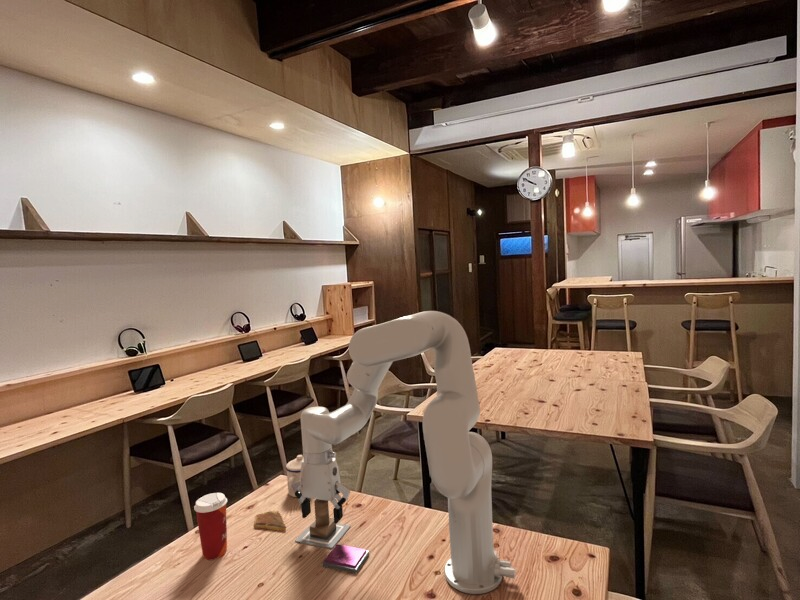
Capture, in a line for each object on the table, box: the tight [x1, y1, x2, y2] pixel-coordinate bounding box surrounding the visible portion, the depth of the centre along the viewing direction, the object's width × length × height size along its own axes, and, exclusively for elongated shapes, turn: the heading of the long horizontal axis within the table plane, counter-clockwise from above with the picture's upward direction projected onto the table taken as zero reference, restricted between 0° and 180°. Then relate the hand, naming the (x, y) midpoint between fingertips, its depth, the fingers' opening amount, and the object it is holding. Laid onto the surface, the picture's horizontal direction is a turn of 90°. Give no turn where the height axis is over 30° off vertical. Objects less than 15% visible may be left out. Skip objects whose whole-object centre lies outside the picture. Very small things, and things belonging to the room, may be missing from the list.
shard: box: [253, 510, 287, 531], centre depth 121 cm, size 11×8×2 cm
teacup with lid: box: [285, 454, 303, 498], centre depth 138 cm, size 12×9×12 cm
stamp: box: [309, 499, 336, 540], centre depth 115 cm, size 5×5×9 cm
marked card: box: [294, 522, 351, 550], centre depth 115 cm, size 11×10×1 cm
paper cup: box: [193, 492, 228, 561], centre depth 110 cm, size 8×8×14 cm
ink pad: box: [321, 543, 370, 574], centre depth 104 cm, size 9×7×2 cm
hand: (322, 518), depth 115 cm, fingers open, 9 cm apart
